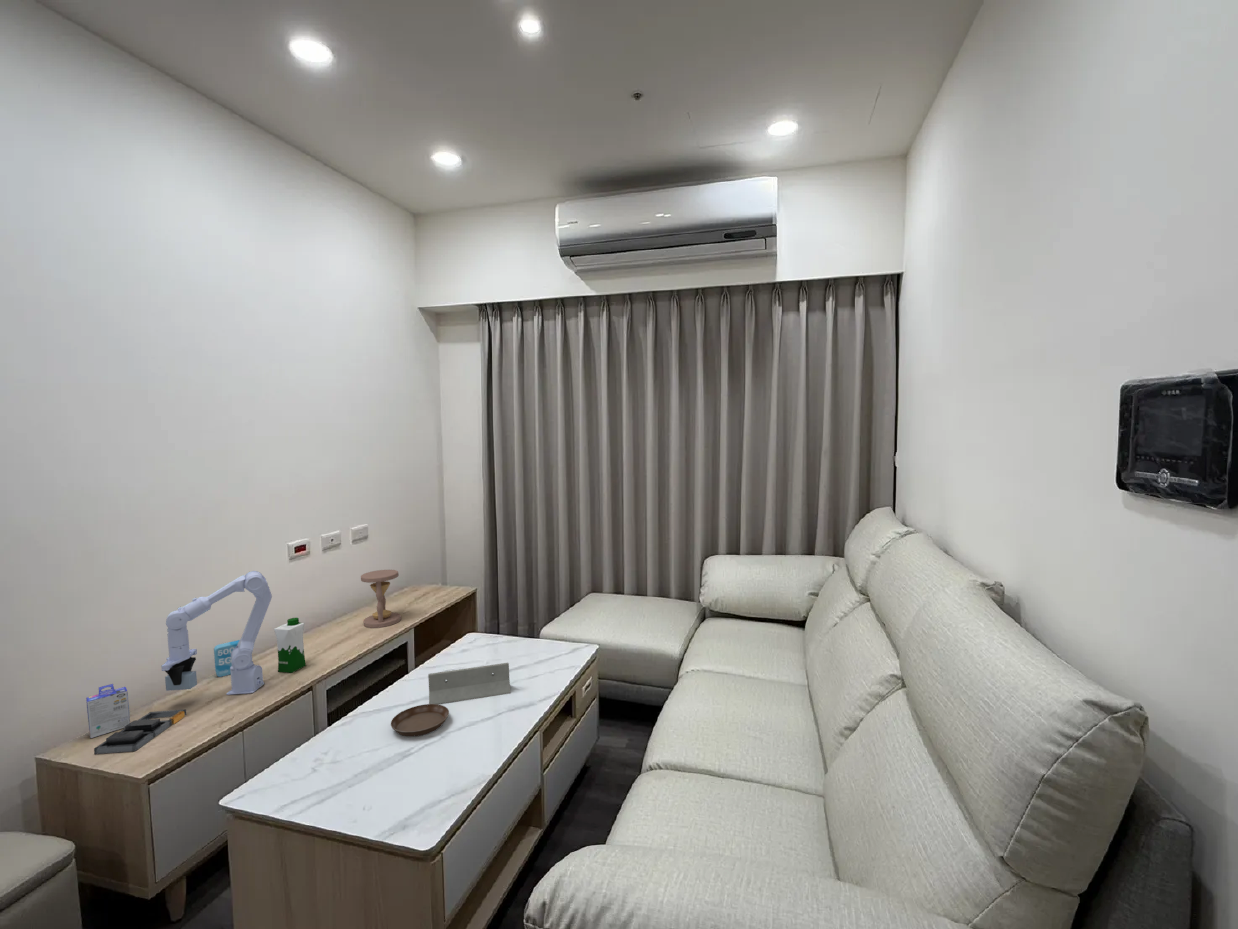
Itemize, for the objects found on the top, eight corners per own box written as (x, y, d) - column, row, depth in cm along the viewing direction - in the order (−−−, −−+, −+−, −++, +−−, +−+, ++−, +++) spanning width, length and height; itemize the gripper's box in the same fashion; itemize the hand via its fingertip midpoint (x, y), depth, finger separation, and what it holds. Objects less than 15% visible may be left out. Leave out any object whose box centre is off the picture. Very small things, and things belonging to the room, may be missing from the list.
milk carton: (309, 665, 226) (306, 617, 225) (291, 674, 217) (288, 625, 216) (292, 663, 228) (288, 616, 227) (273, 672, 219) (270, 624, 218)
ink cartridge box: (129, 720, 184) (125, 679, 184) (131, 726, 181) (127, 683, 180) (88, 733, 177) (84, 690, 176) (90, 739, 173) (86, 695, 173)
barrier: (509, 685, 202) (507, 659, 201) (510, 694, 195) (509, 667, 195) (430, 697, 195) (429, 670, 194) (429, 706, 188) (427, 678, 187)
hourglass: (370, 617, 285) (367, 570, 283) (405, 615, 287) (402, 568, 285) (358, 629, 267) (355, 579, 266) (395, 626, 269) (392, 577, 268)
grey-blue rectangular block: (197, 684, 196) (196, 671, 196) (190, 689, 192) (188, 675, 192) (173, 686, 195) (172, 672, 195) (166, 690, 192) (165, 676, 192)
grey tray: (187, 714, 187) (187, 704, 187) (136, 751, 166) (135, 740, 165) (150, 716, 186) (149, 707, 186) (94, 754, 165) (93, 743, 164)
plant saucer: (392, 718, 181) (391, 709, 180) (447, 707, 187) (447, 699, 186) (389, 746, 164) (389, 736, 164) (451, 733, 170) (450, 724, 170)
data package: (216, 678, 216) (214, 648, 216) (215, 674, 220) (213, 645, 219) (252, 668, 224) (250, 640, 223) (251, 665, 227) (249, 637, 227)
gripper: (181, 637, 200) (184, 673, 201) (150, 653, 186) (153, 692, 186) (201, 636, 201) (204, 672, 201) (172, 652, 186) (175, 691, 187)
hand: (181, 682), depth 194 cm, fingers closed on grey-blue rectangular block, 4 cm apart
